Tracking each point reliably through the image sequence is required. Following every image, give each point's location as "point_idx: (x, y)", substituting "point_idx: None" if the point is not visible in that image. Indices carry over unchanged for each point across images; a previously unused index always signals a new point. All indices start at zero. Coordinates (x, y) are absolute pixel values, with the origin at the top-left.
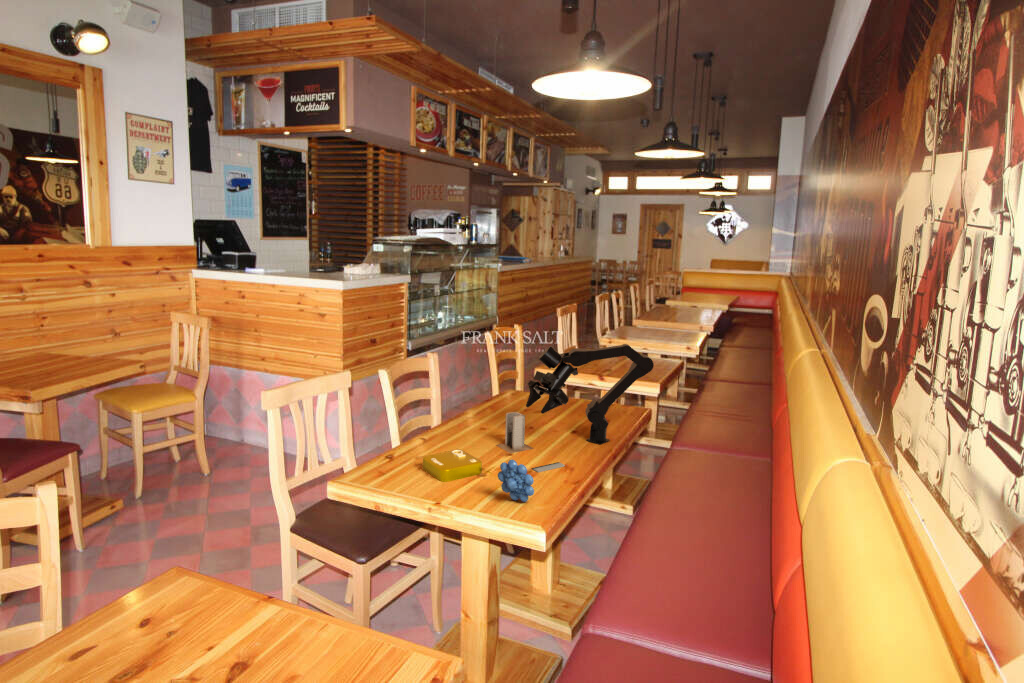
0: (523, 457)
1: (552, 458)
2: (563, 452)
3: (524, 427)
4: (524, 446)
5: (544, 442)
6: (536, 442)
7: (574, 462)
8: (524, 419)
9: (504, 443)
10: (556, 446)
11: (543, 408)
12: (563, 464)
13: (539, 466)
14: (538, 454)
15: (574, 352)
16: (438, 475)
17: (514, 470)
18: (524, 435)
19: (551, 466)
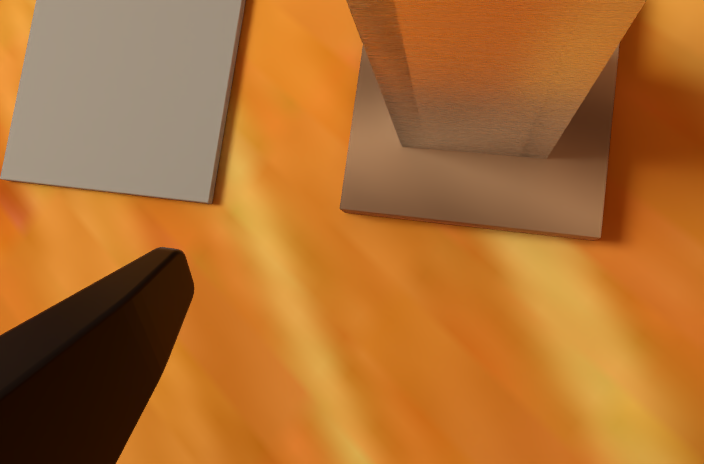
0: (296, 56)
1: (149, 219)
2: (180, 386)
3: (371, 64)
4: (431, 175)
5: (460, 457)
6: (507, 396)
7: (7, 288)
8: (351, 3)
9: (610, 76)
10: (314, 457)
11: (93, 291)
12: (11, 179)
13: (88, 22)
14: (271, 192)
15: None
16: None
17: None
18: (387, 107)
19: (40, 89)
